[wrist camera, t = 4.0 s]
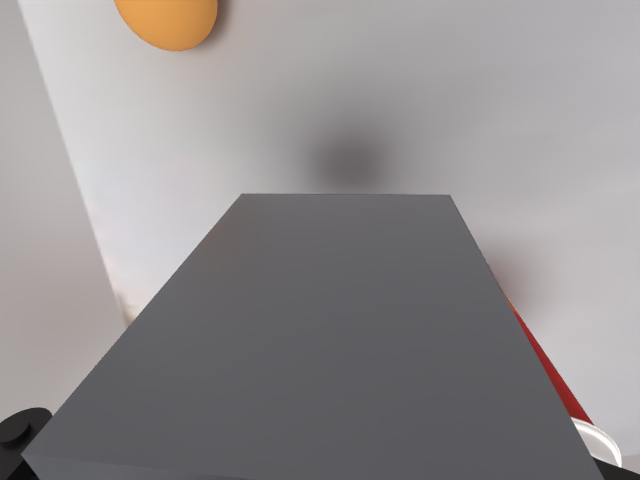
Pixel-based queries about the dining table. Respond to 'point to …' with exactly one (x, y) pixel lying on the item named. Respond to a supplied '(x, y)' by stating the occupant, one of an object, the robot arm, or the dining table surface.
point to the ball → (169, 21)
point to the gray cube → (321, 359)
